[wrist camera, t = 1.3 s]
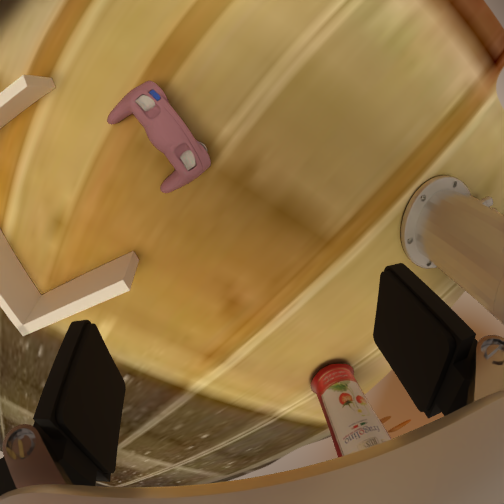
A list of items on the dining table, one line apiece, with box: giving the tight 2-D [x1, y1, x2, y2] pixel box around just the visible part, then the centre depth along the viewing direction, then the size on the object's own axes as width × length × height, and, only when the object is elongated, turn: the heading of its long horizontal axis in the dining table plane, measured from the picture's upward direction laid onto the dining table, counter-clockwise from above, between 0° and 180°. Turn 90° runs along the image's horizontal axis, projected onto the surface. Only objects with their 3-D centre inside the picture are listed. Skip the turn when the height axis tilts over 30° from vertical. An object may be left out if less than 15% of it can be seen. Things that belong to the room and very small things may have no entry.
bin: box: [0, 75, 139, 336], centre depth 25 cm, size 15×21×6 cm
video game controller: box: [107, 81, 211, 193], centre depth 25 cm, size 10×5×7 cm, turn 33°
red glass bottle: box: [311, 364, 391, 457], centre depth 33 cm, size 7×7×28 cm
